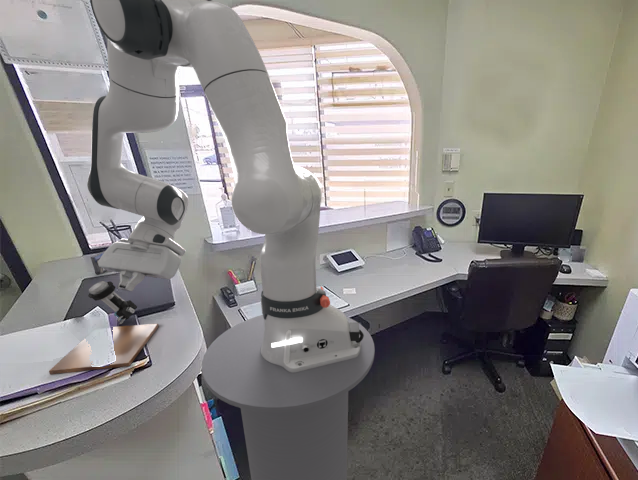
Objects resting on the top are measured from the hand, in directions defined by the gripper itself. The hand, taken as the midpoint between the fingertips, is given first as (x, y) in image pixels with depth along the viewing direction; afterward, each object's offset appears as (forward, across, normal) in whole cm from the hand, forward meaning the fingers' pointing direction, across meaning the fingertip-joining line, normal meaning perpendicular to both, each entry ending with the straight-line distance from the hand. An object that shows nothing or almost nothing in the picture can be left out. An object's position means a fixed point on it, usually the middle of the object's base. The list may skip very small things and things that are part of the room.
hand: (124, 289), depth 76 cm
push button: (+6, 0, +5) cm, 7 cm away
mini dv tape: (-12, -39, +23) cm, 47 cm away
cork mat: (+14, +7, -2) cm, 16 cm away
